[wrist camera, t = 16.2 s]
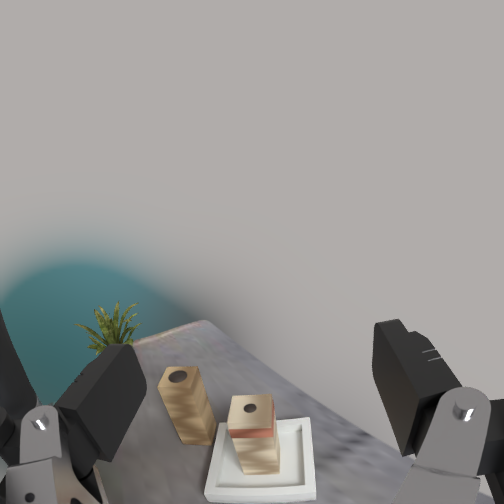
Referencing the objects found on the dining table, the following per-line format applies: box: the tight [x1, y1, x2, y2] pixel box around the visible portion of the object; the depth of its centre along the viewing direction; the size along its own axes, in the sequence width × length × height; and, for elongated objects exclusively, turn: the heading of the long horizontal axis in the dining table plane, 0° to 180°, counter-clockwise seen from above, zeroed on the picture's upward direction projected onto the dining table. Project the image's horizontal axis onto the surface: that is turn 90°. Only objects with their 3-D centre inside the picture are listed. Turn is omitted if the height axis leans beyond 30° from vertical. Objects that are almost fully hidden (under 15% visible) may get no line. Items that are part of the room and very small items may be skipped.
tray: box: [204, 417, 316, 504], centre depth 33 cm, size 13×13×2 cm
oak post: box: [157, 366, 217, 445], centre depth 38 cm, size 4×4×12 cm
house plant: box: [75, 302, 140, 355], centre depth 54 cm, size 14×14×16 cm
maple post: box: [227, 394, 280, 475], centre depth 31 cm, size 5×5×11 cm
